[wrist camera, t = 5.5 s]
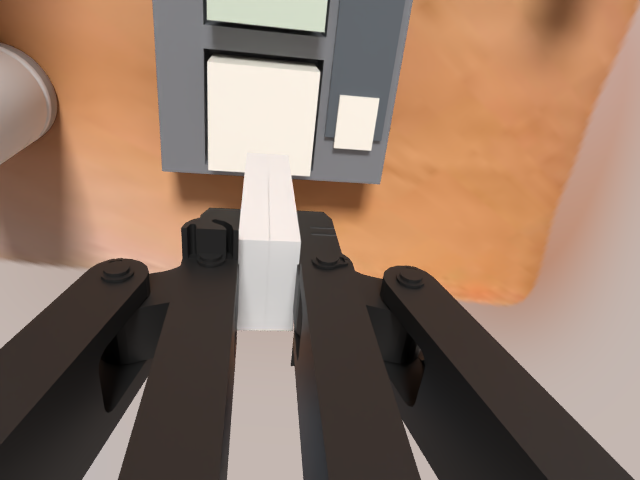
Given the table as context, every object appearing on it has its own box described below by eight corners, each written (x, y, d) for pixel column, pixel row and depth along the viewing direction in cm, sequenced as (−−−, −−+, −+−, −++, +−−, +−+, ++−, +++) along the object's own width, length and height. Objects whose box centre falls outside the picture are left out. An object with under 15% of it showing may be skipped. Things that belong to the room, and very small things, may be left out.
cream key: (213, 151, 30) (208, 170, 27) (213, 53, 27) (207, 61, 24) (305, 158, 31) (309, 176, 28) (314, 63, 28) (320, 72, 25)
